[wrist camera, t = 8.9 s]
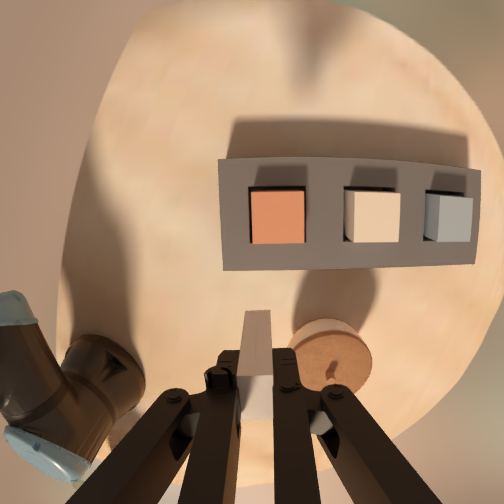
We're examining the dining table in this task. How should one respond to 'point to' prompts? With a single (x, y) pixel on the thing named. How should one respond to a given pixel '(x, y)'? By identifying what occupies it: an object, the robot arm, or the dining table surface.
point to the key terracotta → (277, 216)
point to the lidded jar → (331, 355)
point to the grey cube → (448, 217)
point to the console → (340, 212)
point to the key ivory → (371, 216)
